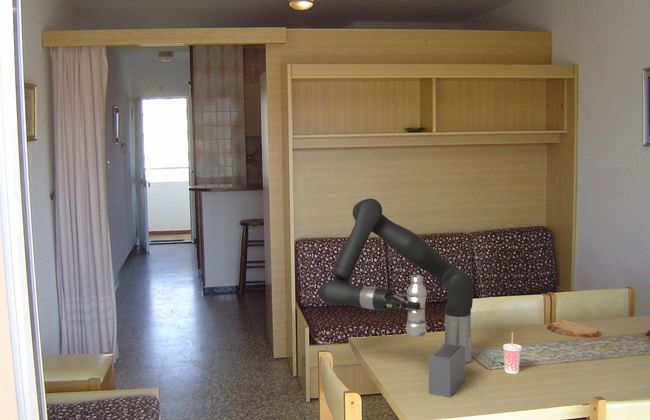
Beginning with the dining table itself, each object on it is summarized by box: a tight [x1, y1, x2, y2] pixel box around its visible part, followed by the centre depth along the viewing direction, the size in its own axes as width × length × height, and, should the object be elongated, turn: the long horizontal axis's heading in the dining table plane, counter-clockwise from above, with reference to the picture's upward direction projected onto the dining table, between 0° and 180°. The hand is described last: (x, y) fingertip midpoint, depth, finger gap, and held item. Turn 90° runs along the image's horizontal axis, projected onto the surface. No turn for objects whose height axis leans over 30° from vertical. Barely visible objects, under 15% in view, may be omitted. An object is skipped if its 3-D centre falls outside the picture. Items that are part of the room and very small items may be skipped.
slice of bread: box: [546, 319, 601, 339], centre depth 277 cm, size 18×18×4 cm
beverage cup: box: [502, 331, 522, 375], centre depth 230 cm, size 6×6×14 cm
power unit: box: [428, 342, 466, 398], centre depth 217 cm, size 7×16×12 cm, turn 152°
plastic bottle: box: [405, 274, 428, 338], centre depth 216 cm, size 6×7×20 cm
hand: (423, 304), depth 215 cm, fingers closed on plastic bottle, 6 cm apart
